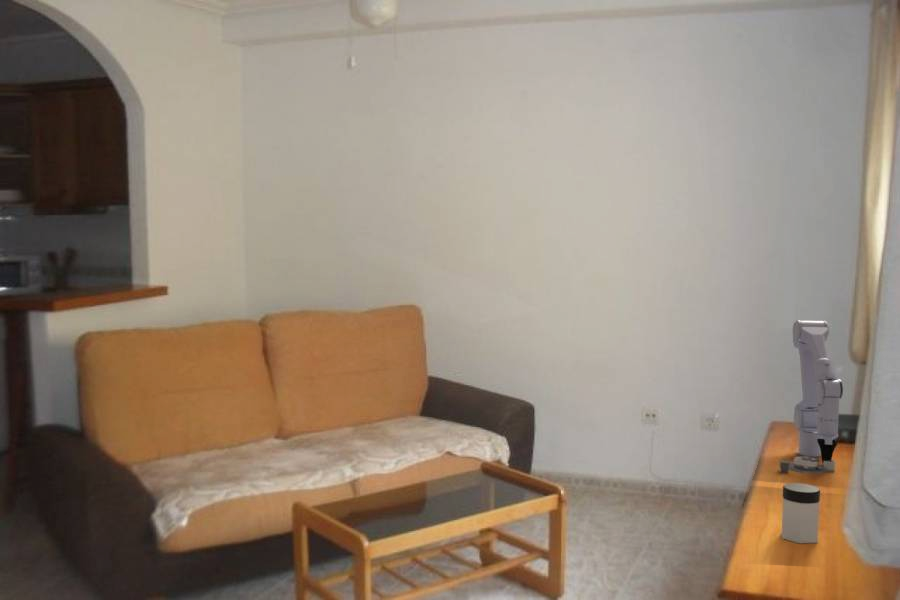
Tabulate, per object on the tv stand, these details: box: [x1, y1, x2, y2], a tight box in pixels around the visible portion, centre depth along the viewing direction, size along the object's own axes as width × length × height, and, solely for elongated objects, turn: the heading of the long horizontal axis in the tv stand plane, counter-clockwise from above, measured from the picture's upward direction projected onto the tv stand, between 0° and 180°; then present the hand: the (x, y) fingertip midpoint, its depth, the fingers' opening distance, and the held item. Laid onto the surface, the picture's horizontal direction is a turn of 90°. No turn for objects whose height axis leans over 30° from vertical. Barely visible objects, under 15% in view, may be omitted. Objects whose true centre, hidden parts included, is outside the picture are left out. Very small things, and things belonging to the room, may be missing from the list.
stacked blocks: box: [779, 460, 790, 475], centre depth 269 cm, size 3×2×4 cm
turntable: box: [788, 459, 836, 475], centre depth 274 cm, size 13×14×4 cm
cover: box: [793, 455, 820, 471], centre depth 274 cm, size 7×7×3 cm
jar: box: [781, 482, 821, 544], centre depth 214 cm, size 9×8×12 cm
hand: (826, 463), depth 277 cm, fingers closed
